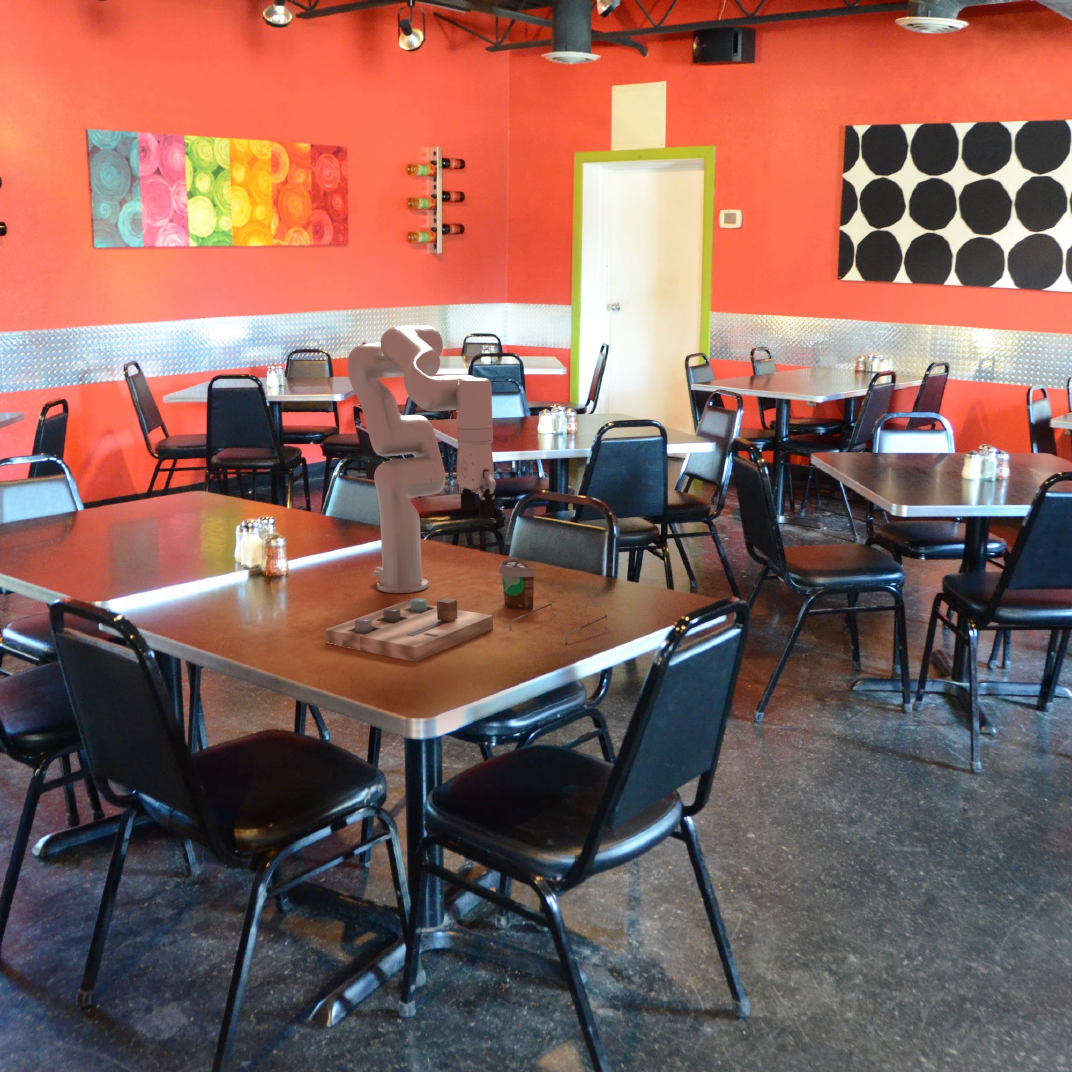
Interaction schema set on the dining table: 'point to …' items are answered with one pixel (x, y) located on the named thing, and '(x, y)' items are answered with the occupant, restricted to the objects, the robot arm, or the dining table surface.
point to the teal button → (418, 605)
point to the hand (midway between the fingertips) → (477, 514)
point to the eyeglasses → (572, 618)
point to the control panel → (411, 632)
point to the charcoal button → (391, 615)
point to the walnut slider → (447, 609)
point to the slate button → (363, 625)
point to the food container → (517, 584)
